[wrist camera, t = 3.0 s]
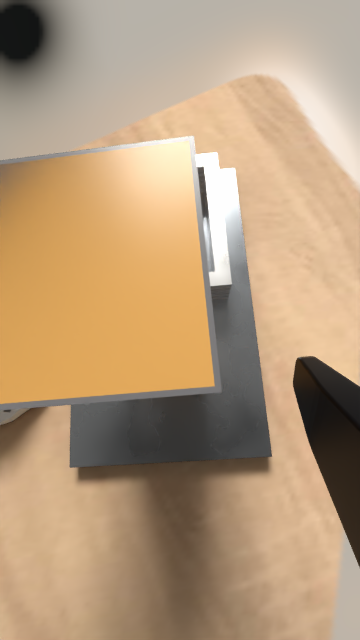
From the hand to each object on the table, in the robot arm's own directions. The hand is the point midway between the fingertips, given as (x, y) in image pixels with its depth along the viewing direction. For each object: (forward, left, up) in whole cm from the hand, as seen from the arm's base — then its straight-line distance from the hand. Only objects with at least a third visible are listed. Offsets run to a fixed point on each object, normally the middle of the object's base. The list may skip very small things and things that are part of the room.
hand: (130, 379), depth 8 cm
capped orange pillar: (+2, 0, -9) cm, 9 cm away
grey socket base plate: (+5, 0, -10) cm, 11 cm away
